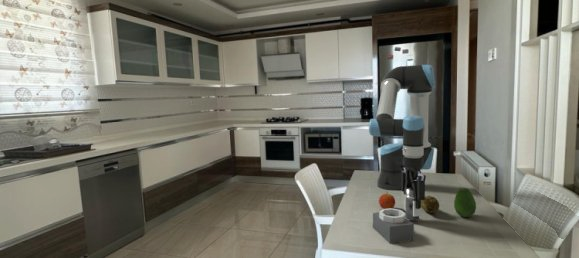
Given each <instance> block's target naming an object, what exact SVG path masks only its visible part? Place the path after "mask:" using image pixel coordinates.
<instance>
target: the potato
mask: <svg viewBox="0 0 579 258" xmlns="http://www.w3.org/2000/svg"><path fill="white" fill-rule="evenodd" d="M421 209H422V210H424V211H425V212H427V213H436V212H437V211H438V210H439V209H440V203H439V200H438V199H437V198H436V197H435V196H431V195H425V200H421Z"/></svg>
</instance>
